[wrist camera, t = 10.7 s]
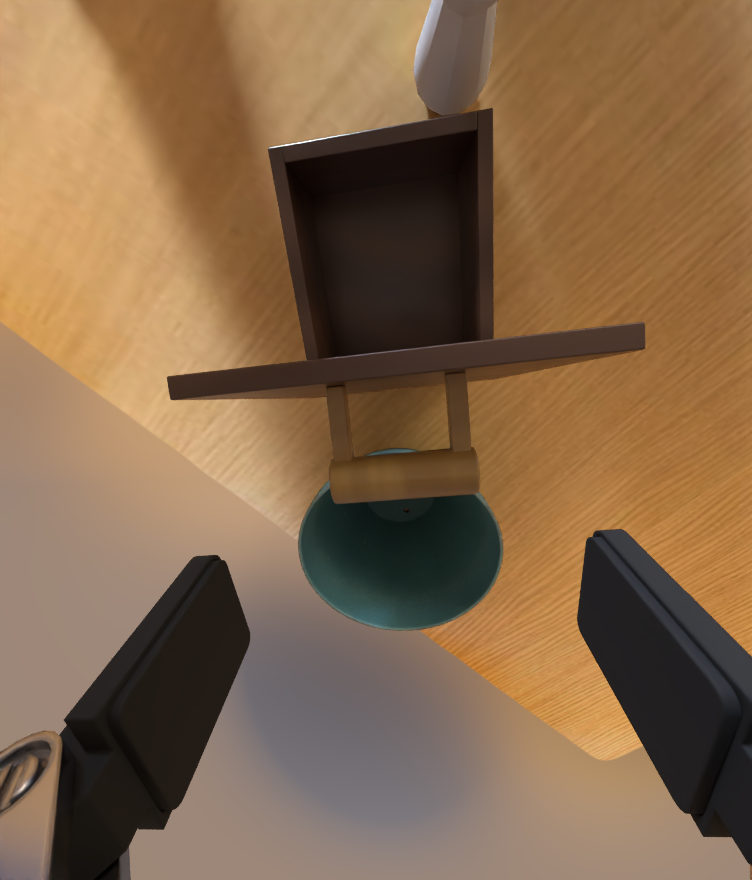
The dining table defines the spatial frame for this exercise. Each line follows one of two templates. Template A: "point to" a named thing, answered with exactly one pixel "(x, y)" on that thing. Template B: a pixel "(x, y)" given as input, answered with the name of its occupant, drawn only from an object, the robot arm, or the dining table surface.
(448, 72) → the salt shaker
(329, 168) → the chest
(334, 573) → the green bowl
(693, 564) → the dining table surface
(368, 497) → the chest lid
